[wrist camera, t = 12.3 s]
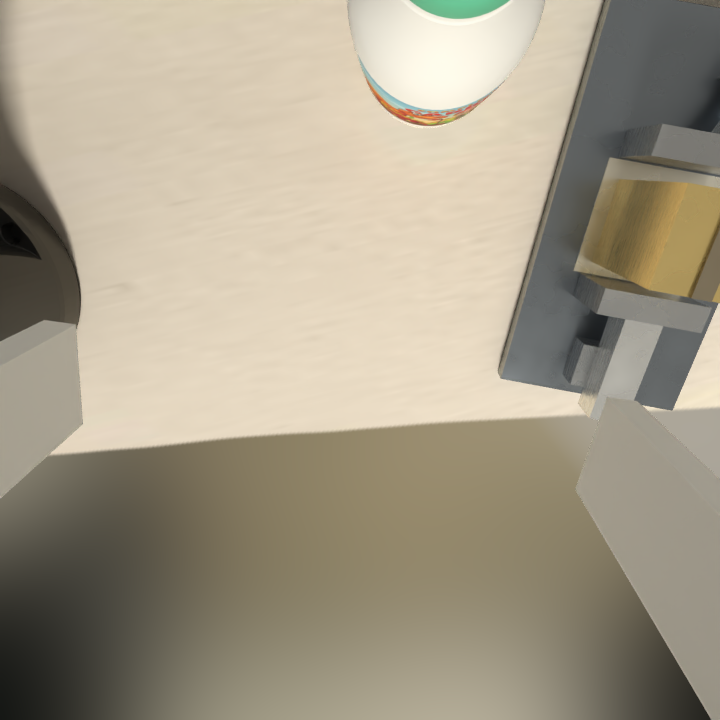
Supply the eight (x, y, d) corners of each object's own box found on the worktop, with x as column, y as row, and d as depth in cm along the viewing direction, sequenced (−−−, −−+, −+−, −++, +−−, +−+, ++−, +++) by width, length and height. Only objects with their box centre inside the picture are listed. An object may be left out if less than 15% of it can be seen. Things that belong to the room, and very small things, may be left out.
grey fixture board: (497, 373, 37) (513, 407, 32) (605, -4, 29) (651, -42, 24) (663, 404, 37) (706, 443, 32) (819, 34, 29) (912, 4, 24)
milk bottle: (337, 53, 31) (239, -123, 12) (440, -54, 29) (511, -467, 10) (420, 157, 33) (444, 143, 14) (522, 63, 30) (716, -103, 12)
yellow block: (619, 179, 31) (690, 182, 23) (702, 194, 31) (801, 203, 23) (592, 262, 33) (650, 290, 25) (670, 276, 33) (752, 309, 25)
